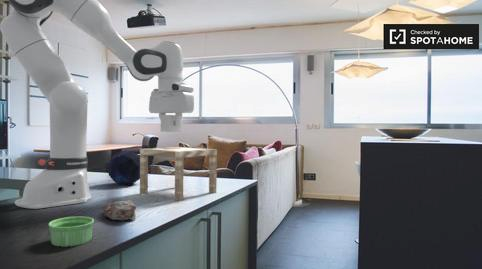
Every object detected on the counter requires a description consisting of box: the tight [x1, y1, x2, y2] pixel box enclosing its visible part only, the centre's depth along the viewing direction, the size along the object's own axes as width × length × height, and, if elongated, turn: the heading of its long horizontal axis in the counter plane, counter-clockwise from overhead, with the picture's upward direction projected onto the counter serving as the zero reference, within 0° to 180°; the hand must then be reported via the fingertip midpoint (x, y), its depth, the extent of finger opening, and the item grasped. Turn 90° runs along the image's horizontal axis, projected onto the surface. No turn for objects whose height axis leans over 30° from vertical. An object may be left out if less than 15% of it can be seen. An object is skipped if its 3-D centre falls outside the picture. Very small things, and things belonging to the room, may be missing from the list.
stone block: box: [160, 114, 181, 133], centre depth 131 cm, size 5×5×6 cm
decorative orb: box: [107, 150, 140, 186], centre depth 153 cm, size 14×15×15 cm
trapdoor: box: [153, 147, 207, 151], centre depth 135 cm, size 14×14×1 cm
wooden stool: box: [139, 146, 218, 202], centre depth 135 cm, size 20×20×16 cm
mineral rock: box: [102, 199, 137, 222], centre depth 99 cm, size 15×8×4 cm, turn 24°
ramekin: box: [48, 215, 95, 248], centre depth 79 cm, size 9×9×4 cm
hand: (170, 125), depth 131 cm, fingers closed on stone block, 5 cm apart
